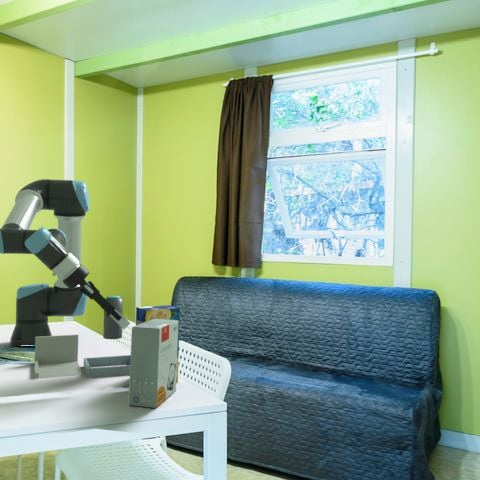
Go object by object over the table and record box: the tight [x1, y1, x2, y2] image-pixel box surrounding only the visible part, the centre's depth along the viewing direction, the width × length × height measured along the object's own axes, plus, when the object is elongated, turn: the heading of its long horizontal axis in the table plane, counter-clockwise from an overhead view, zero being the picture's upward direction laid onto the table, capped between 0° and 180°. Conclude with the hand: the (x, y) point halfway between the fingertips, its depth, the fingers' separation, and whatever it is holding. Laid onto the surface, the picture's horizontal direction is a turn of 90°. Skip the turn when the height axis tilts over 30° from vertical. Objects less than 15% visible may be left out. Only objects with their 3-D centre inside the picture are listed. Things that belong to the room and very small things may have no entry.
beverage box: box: [135, 304, 181, 383], centre depth 142 cm, size 7×11×22 cm, turn 127°
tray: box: [83, 354, 131, 379], centre depth 148 cm, size 14×16×4 cm
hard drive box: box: [127, 319, 178, 409], centre depth 127 cm, size 16×8×20 cm, turn 168°
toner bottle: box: [102, 295, 124, 340], centre depth 148 cm, size 6×6×13 cm
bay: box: [34, 334, 83, 380], centre depth 148 cm, size 18×13×10 cm
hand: (125, 324), depth 149 cm, fingers closed on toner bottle, 6 cm apart
